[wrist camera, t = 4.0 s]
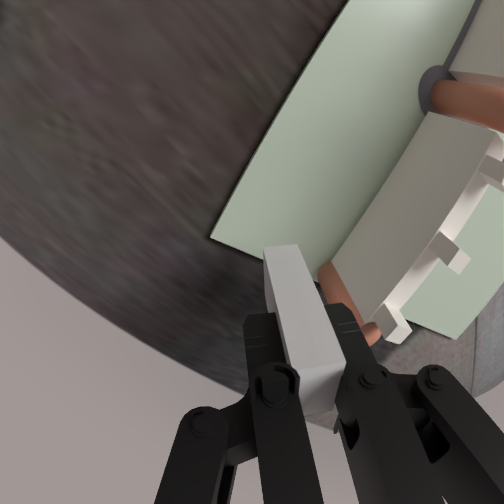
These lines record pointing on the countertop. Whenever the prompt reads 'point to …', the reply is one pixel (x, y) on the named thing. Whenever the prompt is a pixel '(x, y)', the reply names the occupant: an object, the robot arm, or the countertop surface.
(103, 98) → the countertop surface
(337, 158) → the card
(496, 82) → the fixed fence
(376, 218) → the swing panel
